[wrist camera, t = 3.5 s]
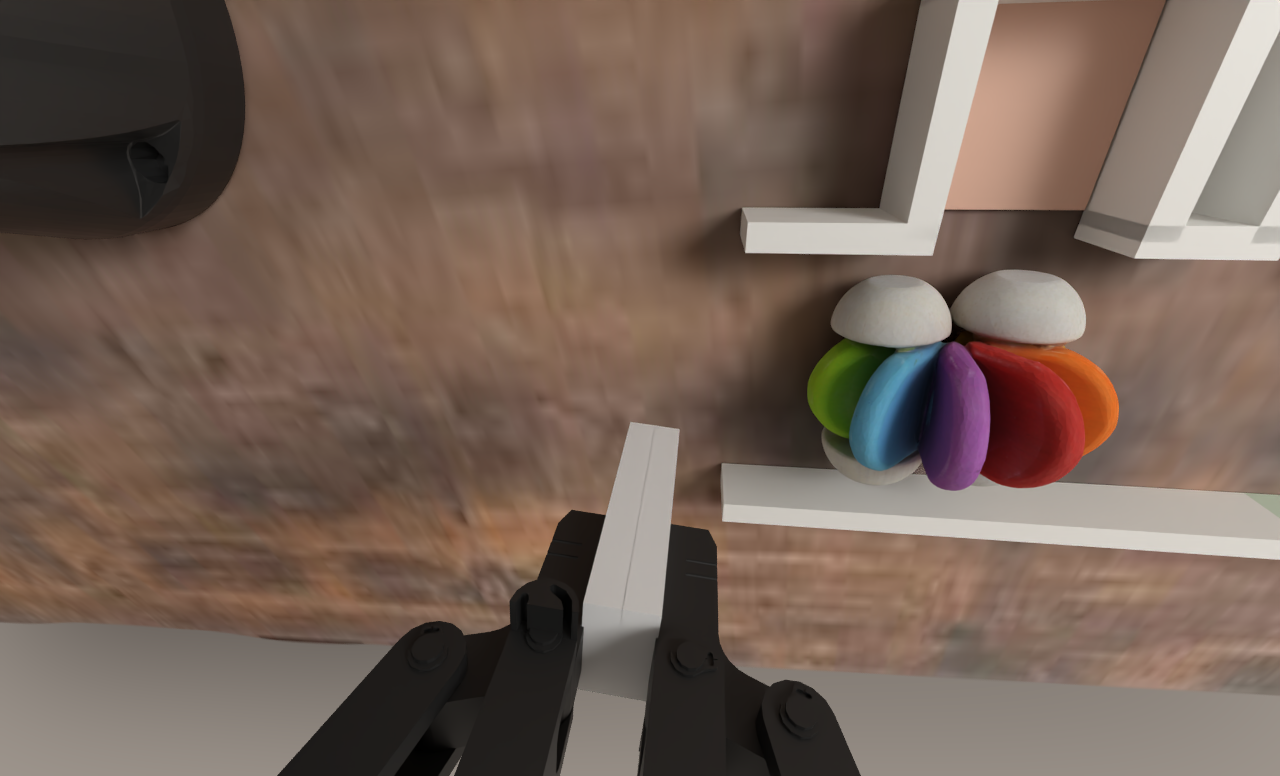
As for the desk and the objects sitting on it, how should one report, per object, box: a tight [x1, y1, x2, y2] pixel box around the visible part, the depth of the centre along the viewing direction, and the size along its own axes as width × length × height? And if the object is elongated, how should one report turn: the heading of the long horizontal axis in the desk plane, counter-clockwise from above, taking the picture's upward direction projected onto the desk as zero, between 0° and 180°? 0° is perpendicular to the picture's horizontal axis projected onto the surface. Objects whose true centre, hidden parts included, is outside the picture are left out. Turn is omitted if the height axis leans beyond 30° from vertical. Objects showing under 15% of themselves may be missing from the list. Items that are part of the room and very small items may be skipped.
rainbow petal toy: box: [807, 270, 1119, 491], centre depth 18 cm, size 8×10×7 cm
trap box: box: [720, 0, 1280, 560], centre depth 18 cm, size 32×20×3 cm, turn 91°
